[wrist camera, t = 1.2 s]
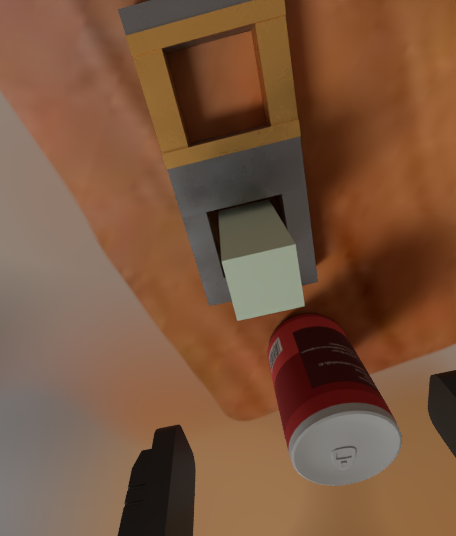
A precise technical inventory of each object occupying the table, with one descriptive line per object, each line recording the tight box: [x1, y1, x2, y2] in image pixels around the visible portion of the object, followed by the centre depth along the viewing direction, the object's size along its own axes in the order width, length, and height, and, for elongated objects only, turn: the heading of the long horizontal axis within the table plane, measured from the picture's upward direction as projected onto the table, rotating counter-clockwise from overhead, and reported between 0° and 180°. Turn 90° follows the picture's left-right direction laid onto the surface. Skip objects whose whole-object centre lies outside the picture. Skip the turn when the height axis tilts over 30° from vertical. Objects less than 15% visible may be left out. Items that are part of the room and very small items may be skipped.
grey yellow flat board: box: [118, 0, 318, 306], centre depth 23 cm, size 9×20×2 cm, turn 13°
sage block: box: [218, 199, 305, 321], centre depth 22 cm, size 4×4×9 cm
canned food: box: [268, 314, 402, 486], centre depth 27 cm, size 8×8×11 cm
